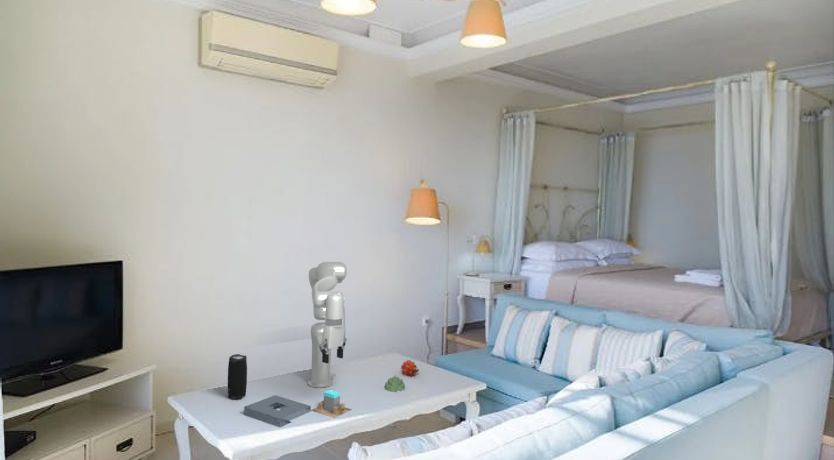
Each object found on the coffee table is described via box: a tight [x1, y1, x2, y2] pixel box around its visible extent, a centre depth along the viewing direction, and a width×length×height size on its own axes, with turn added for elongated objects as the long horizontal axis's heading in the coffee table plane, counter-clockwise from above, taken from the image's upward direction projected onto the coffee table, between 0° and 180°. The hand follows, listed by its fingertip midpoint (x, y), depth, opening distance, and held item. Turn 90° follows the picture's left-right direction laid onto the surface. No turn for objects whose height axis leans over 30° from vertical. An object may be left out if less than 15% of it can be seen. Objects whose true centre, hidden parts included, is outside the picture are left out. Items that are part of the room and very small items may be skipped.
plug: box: [323, 389, 341, 413], centre depth 243 cm, size 4×6×8 cm, turn 58°
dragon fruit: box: [400, 359, 420, 378], centre depth 299 cm, size 8×8×12 cm
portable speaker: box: [227, 353, 248, 401], centre depth 256 cm, size 9×9×20 cm
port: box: [243, 394, 312, 428], centre depth 238 cm, size 18×22×4 cm
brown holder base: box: [311, 400, 353, 419], centre depth 243 cm, size 12×14×4 cm
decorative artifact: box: [384, 374, 406, 393], centre depth 277 cm, size 10×7×10 cm
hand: (332, 360), depth 242 cm, fingers open, 9 cm apart
